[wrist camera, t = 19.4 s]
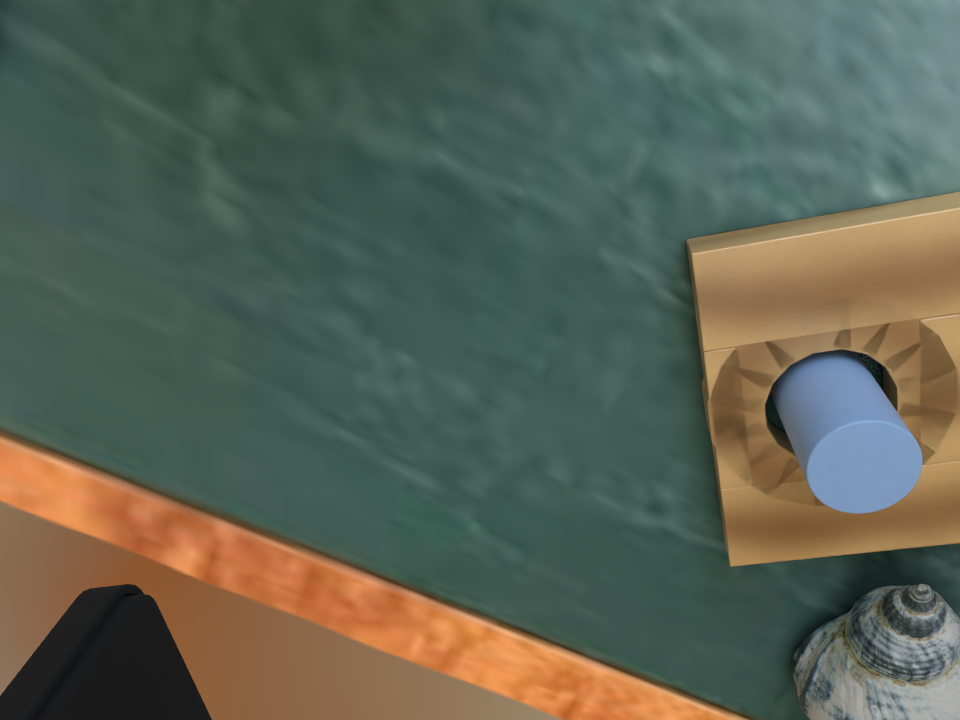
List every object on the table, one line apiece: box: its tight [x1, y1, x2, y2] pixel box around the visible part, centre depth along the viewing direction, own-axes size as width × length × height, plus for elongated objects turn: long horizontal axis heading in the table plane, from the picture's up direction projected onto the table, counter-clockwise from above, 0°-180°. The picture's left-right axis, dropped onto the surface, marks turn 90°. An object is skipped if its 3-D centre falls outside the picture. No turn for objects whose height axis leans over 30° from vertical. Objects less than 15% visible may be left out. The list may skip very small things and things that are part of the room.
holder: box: [686, 192, 960, 566], centre depth 38 cm, size 16×12×2 cm
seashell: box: [792, 584, 960, 720], centre depth 42 cm, size 6×8×12 cm
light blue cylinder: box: [771, 349, 923, 514], centre depth 36 cm, size 4×4×7 cm
